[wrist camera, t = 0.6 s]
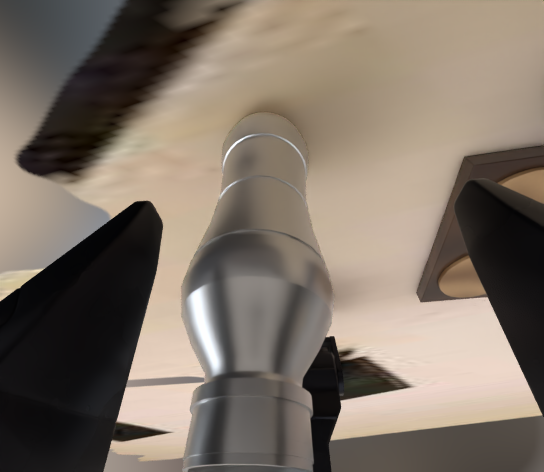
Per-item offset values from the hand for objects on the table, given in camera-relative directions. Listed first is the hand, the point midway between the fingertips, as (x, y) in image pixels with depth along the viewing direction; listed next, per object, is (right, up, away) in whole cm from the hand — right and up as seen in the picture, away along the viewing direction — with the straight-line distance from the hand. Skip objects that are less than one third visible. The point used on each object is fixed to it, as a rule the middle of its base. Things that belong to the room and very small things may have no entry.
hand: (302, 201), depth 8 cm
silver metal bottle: (-1, +6, +14) cm, 16 cm away
